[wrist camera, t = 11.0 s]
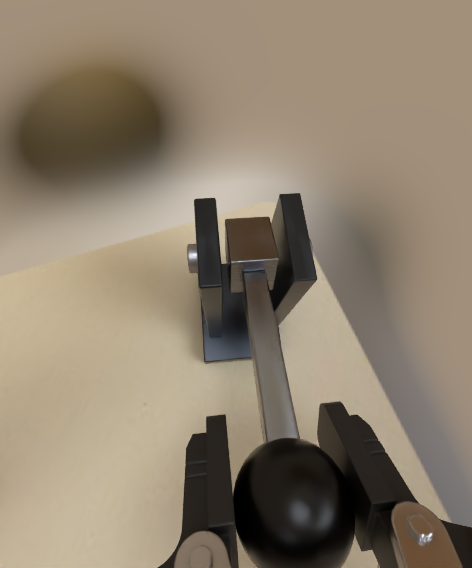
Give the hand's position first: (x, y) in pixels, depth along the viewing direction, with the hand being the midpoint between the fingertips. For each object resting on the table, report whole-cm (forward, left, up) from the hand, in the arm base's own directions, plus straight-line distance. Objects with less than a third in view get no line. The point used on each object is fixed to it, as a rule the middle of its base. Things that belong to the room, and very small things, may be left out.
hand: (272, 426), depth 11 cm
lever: (0, -2, -1) cm, 3 cm away
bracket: (0, -8, -12) cm, 14 cm away
